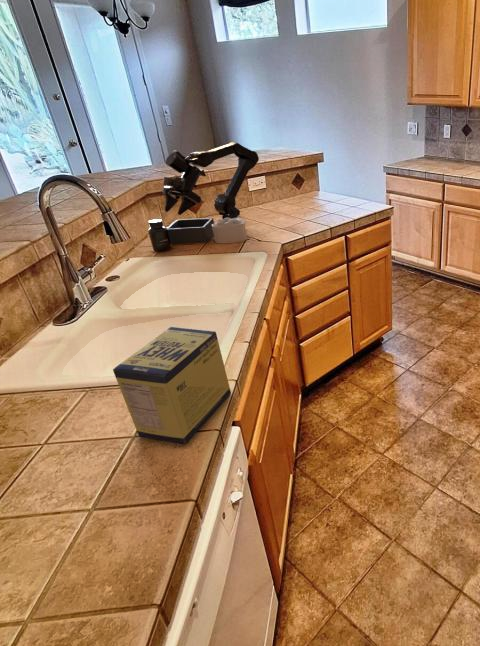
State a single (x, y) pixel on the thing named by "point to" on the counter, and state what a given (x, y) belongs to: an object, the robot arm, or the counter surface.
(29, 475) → the counter surface
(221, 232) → the white rounded block
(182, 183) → the robot arm
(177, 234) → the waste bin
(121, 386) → the protein box
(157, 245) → the supplement bottle
